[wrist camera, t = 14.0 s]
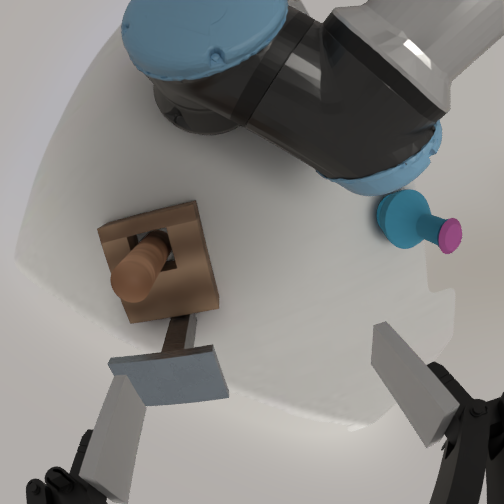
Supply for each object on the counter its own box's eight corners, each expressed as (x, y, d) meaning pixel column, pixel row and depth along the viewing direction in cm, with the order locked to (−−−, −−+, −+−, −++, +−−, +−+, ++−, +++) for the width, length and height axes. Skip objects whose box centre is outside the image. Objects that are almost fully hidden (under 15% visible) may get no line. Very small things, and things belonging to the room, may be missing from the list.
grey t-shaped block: (142, 295, 42) (107, 364, 25) (215, 281, 42) (212, 351, 26) (156, 331, 44) (133, 406, 28) (225, 320, 44) (229, 397, 28)
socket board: (107, 222, 38) (97, 229, 34) (195, 200, 38) (192, 204, 34) (137, 311, 42) (130, 323, 39) (219, 295, 43) (218, 308, 39)
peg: (140, 233, 39) (105, 267, 26) (168, 227, 39) (142, 258, 26) (148, 261, 40) (118, 305, 27) (175, 255, 40) (155, 299, 27)
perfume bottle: (418, 194, 41) (480, 211, 27) (405, 245, 44) (461, 276, 30) (377, 179, 40) (440, 190, 26) (363, 234, 42) (419, 267, 28)
